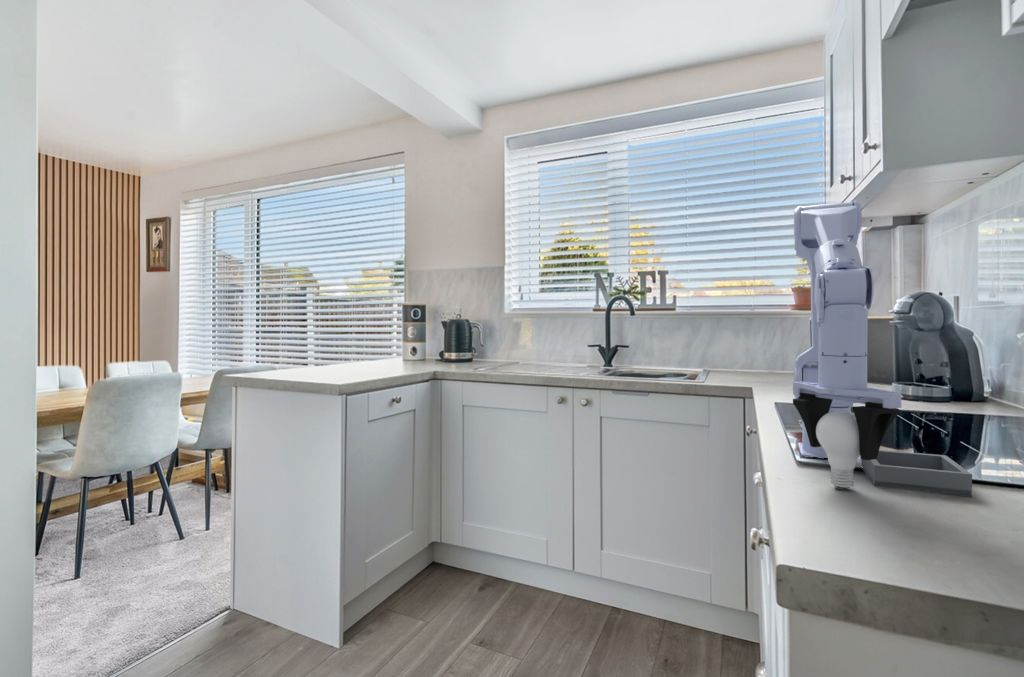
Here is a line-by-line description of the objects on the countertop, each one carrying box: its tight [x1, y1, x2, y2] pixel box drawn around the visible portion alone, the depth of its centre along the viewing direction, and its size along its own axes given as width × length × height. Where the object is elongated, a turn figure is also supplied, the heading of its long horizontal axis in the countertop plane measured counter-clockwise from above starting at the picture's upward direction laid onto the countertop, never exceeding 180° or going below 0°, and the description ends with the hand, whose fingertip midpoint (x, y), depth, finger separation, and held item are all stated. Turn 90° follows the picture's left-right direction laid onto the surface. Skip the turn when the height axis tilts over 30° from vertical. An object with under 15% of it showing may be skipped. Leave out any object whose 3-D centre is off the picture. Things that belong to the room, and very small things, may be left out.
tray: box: [860, 449, 973, 498], centre depth 74 cm, size 11×11×3 cm
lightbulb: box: [816, 410, 860, 491], centre depth 70 cm, size 6×6×11 cm
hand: (841, 452), depth 71 cm, fingers open, 7 cm apart
